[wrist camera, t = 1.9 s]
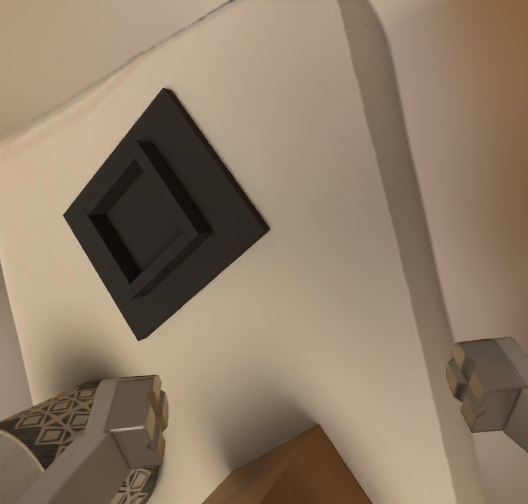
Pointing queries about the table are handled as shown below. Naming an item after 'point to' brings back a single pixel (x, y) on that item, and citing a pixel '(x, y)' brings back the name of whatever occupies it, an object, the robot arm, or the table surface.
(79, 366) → the table surface
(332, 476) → the block
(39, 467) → the planter
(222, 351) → the table surface
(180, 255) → the base pad
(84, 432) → the robot arm
